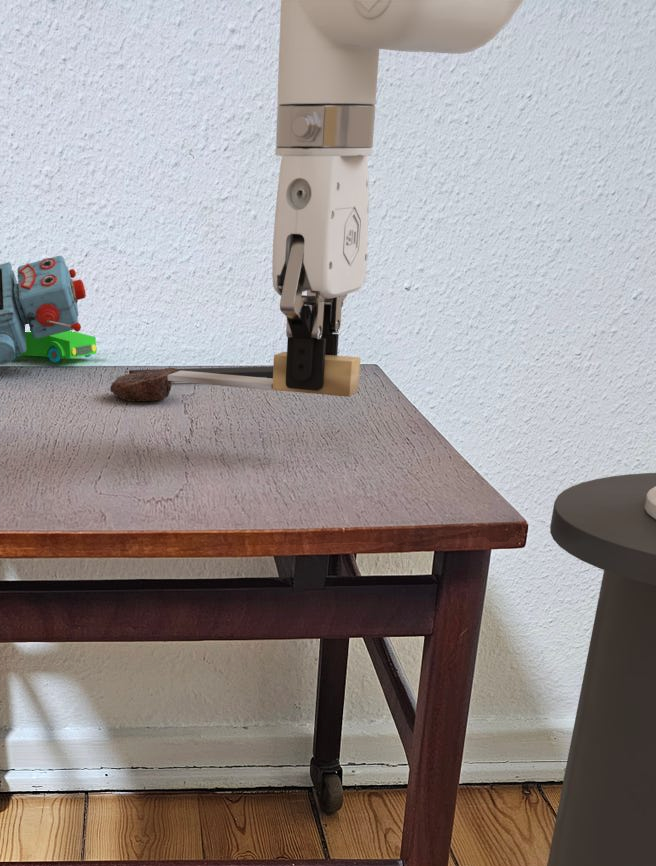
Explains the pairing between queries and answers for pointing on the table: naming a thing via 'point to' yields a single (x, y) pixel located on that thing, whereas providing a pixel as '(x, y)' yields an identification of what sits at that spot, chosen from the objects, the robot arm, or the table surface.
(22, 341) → the toy robot
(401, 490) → the table surface
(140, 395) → the stone
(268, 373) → the dark grey flat bar
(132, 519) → the table surface
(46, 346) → the toy car
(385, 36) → the robot arm
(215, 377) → the knife
